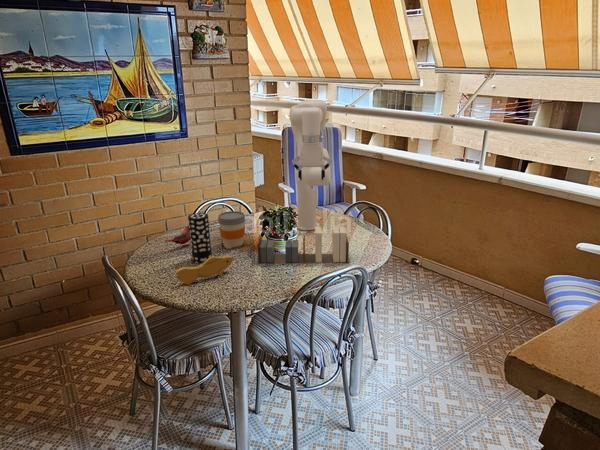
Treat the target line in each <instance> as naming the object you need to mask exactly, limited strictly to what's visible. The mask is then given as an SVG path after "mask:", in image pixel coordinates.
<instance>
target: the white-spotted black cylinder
mask: <svg viewBox="0 0 600 450" xmlns="http://www.w3.org/2000/svg"><path fill="white" fill-rule="evenodd" d="M187 220H188V221H187V222H188V225H189V231H190V240H189V241H190V247H191V256H192V257H191V258H192V262H193V263H195V264H203V263H204V262H205V261H206V260H207V259H208V258H210V257H212V256H213V253H212V241H211V232H210V222H209V221H210V220H209V214H208V213H205V212H196V213H195V212H194V213H191V214H188V216H187Z"/></svg>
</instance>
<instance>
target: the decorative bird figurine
mask: <svg viewBox="0 0 600 450" xmlns="http://www.w3.org/2000/svg"><path fill="white" fill-rule="evenodd" d="M189 241H191V240H190V231H189V224H188V225H187V226H186V227H185V229H184V230H183V231H181V232H179V233H178V234H177V235H175V236H174V237H173V238H171V239H164V242H171V243H174V244H176V245H181V248H184V247H187V246H188V245H189V243H188V242H189ZM182 244H185V245H182Z"/></svg>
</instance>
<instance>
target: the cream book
mask: <svg viewBox="0 0 600 450" xmlns="http://www.w3.org/2000/svg"><path fill="white" fill-rule="evenodd" d="M322 231H323V230H322V226H319V227H315V230H314V254H315V259H316V263H319V262H322V254H323V232H322Z"/></svg>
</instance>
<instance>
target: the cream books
mask: <svg viewBox="0 0 600 450" xmlns="http://www.w3.org/2000/svg"><path fill="white" fill-rule="evenodd" d="M331 232H332V233H331V235H332V236H331V237H332V238H331V254H332V257H333V262H339V261H340V262H346V234H347V230H346V226H343V225H342V226H339V225H338V226H332V231H331Z"/></svg>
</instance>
